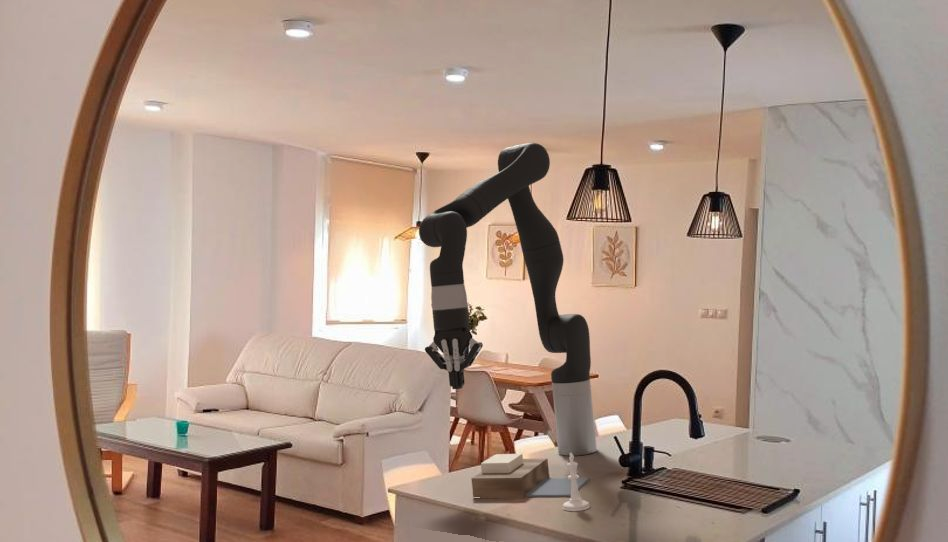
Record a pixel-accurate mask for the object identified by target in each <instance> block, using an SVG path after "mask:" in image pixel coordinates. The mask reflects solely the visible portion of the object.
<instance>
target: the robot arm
mask: <svg viewBox="0 0 948 542" xmlns="http://www.w3.org/2000/svg"><path fill="white" fill-rule="evenodd" d="M550 162H551V161H550V156H549V153H548V151H547V149H546V148H545V147H544V146H543V145H542V144H540V143H537V142H525V143H523V144H522V143H521V144H516V145H514V146H513V145H512V146H508V147H505V148H503V149H502V150H501V151H500V153H499V155H498V157H497V169H498V172H497V173H495V174H493V175H491V176H489V177H487V178H484V179H483V180H480V181H478V182H477V183H474V184H473V185H472V186H471V187H469V188H467V189H466V190H464V191H463V192H462V193H461V194H460V195H459V196H457V197H456V198H455V199H454V200H452V201H451V202H449V203H446V204H445V205H443V206H440V207H439V208H437V209H435V210H434V211H432V212H430V213H429V214H428V215H426V216H424V218H423V220H422V221H421V222H420V225H419V228H418V235H419V238H420V240H421V242H422V243H423V244H424V245H425V246H427V247H430V248H440V250H439V251H440V252H439V254H438V257H436V258H435V259H433V260H431V262H430V263H429V277H430V287H431V292H430V293H431V294H430V295H431V296H430V298H431V299H430V300H431V309H432V311H431V313H432V319H433V320H432V321H433V330H434V335H433V338H432V339H433V341H432V342H431V343H430V344H429V345H428V346H426V347H425V348H424V351H425V352H426V354H427V355H428V356H429V357H430V359H431V360H432V362H434V363H435V364H436V366H437V367H438V368H439V370H445V371H447V373H448V381H449V386H450V387H452V390H461V389H463V386H465V373H464V371H465V369H466V368H469V367H471V366H472V365H473V363H474V361H475V360H476V357H477V356H478V354H479V353H480V351H481V350H482V348H483V346H484V344H483V342H481V341H479V342H478V341H477V340H476V339H474V338H473V334H472V332H471V330H470V319H469V307H468V306H469V305H468V297H467V290H466V287H465V286H466V285H465V277H464V269H463V263H464V259H465V253H466V244H467V239H468V238H467V237H468V228H470V227H472V226H475V225H476V224H477V223H478V222H480V221H481V220H483V218H484V217H486V216H487V215H488V214H489V213H491V212H492V211H493V210H494V209H495V208H497V207H499V205H501V204H502V203H504V202H505V201H506V200H508V203H509V206H510V209H511V213H512V216H513V219H514V222H515V223H514V224H515V226H516V227H515V228H516V230H517V234H518V238H519V243H520V247H521V252H522V255H523V260H524V263H525V266H526V271H527V274H528V278H529V283H530V286H531V291H532V296H533V301H534V308H535V314H536V315H535V316H536V321H537V329H538V334H539V339H540V342H541V344H542V346H543V348H544V349H545V350H546V352H548V353H551V354H562V353H563V354H565V355H566V358H565V361H564V363H563V364H562V365H560V366H559V367H556V368H554V369H553V370H552V371H550V377H551V379H550V380H551V387H552V396H553V407H554V408H553V409H554V417H555V418H554V419H555V430H556V441H557V450H558V454H559V455H562V456H570V453H573V456H581V455H582V456H583V455H588V454H589V455H590V454H592V453H596V452H597V441H596V438H597V437H596V429H595V428H596V427H595V419H594V418H595V417H594V408H593V407H594V406H593V405H594V404H593V396H592V389H591V388H592V387H591V386H592V385H591V379H590V378H591V377H590V376H591V375H590V374H591V373H590V372H591V367H592V366H591V364H592V361H591V340H590V339H591V337H590V329H589V325H588V322H587V320H586V318H585V317H584V316H583V315H582V314H579V313H569V314H559V311H558V307H557V300H556V294H557V293H556V291H557V287H558V282H559V281H560V278H561V274H562V271H563V266H564V253H563V251H562V245H561V242H560V238H559V234H558V232H557V230H556V228H555V227H554V225H553V224H552V223H551V221H550V220H549V219H548V217H546V216H545V214H544V213H543V212H542V211H541V209H540V208H539V207H538V206H537V204H536V202H535V200H534V197H533V195H532V192H531V189H530V186H531V185H533V184H535V183H537V182H539V181H541V180H542V179H544V178H545V177H546V176H547V174H548V172H549V170H550V167H551V166H550V165H551V163H550ZM468 348H469V352H468V353H467V355H466V354H465V353H466V351H467V349H468ZM439 351H440V352H441V353H442V354H443V356H442V355H441V354H440V352H439ZM465 355H466V357H465Z"/></svg>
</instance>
